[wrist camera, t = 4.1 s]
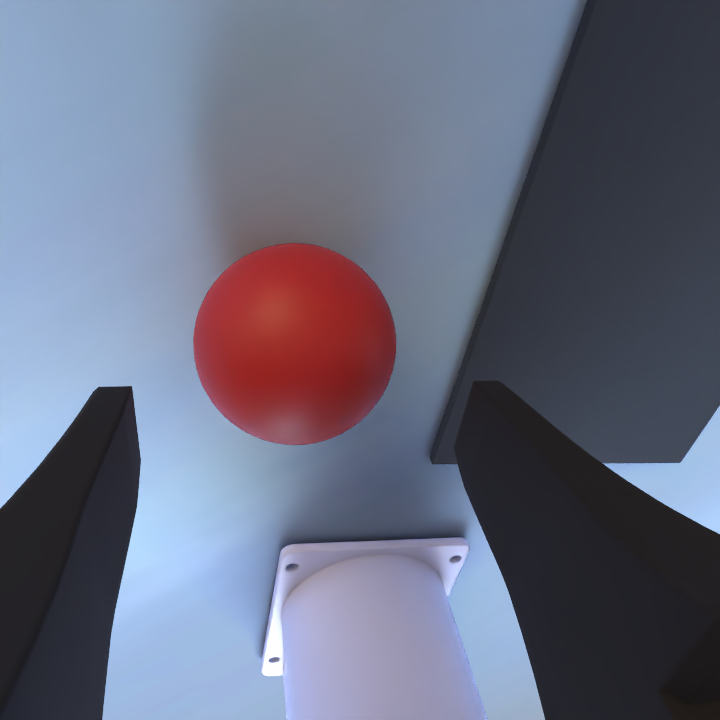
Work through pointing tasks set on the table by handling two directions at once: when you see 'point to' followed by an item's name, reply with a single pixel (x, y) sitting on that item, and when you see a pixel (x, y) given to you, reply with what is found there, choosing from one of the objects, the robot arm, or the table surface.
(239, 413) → the ball
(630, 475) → the table surface
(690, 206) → the mat
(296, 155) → the table surface
